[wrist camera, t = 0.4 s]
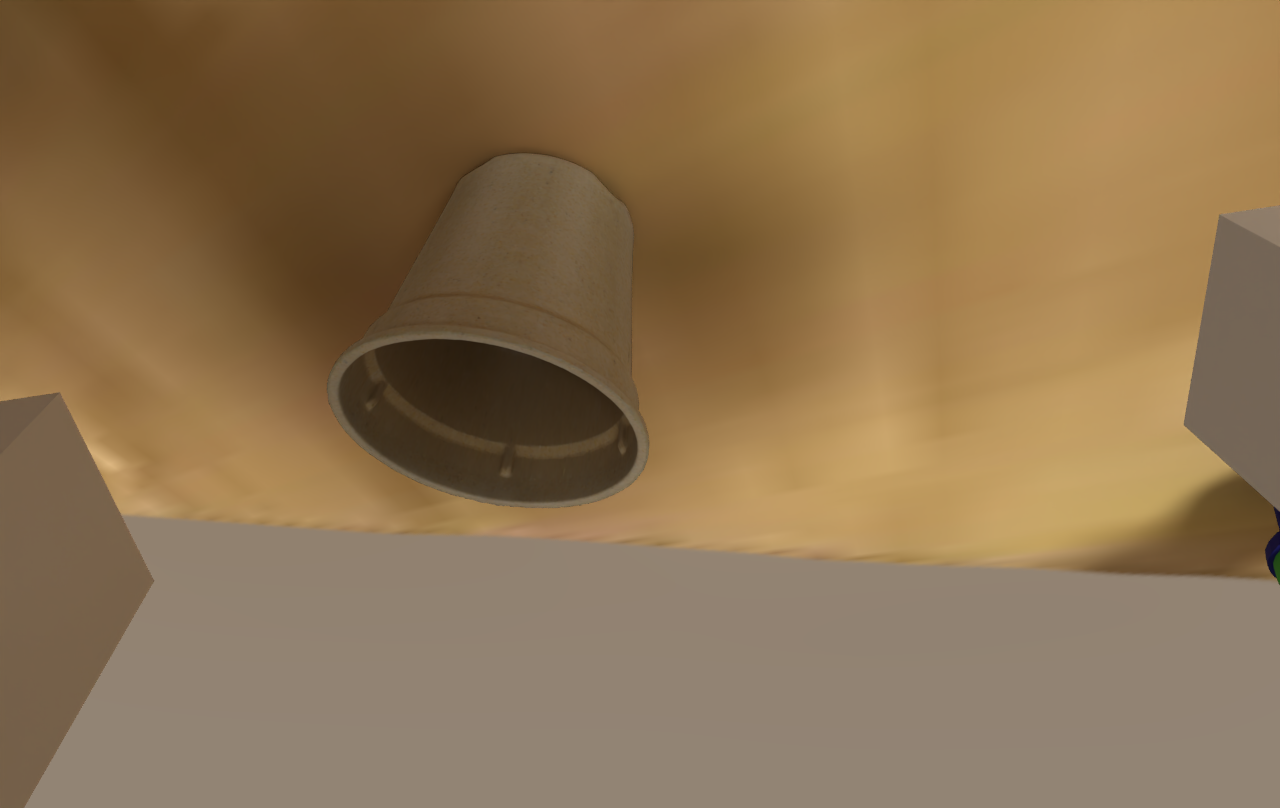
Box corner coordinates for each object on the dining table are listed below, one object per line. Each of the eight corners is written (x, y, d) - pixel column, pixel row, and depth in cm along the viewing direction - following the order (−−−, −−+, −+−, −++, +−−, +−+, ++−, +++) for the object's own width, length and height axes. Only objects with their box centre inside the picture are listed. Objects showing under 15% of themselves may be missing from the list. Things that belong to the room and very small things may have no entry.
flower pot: (714, 296, 35) (687, 507, 30) (485, 320, 38) (427, 515, 33) (630, 83, 28) (577, 316, 23) (355, 135, 31) (258, 349, 26)
